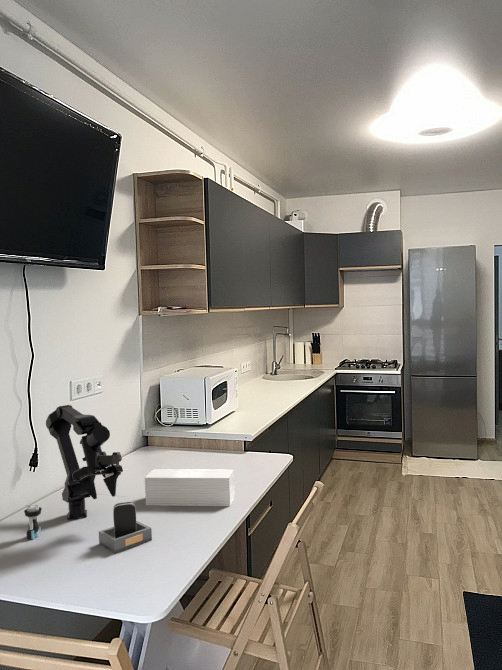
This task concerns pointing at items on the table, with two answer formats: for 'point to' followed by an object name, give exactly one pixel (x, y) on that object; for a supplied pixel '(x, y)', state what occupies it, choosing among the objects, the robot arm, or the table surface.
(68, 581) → the table surface
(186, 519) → the table surface
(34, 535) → the push button
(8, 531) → the table surface
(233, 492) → the stack of papers
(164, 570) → the table surface
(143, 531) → the tray
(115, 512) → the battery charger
